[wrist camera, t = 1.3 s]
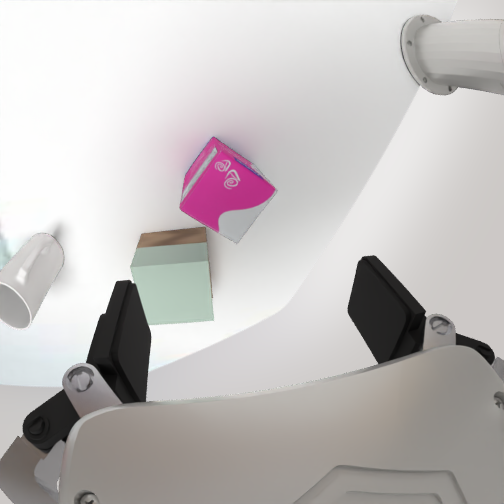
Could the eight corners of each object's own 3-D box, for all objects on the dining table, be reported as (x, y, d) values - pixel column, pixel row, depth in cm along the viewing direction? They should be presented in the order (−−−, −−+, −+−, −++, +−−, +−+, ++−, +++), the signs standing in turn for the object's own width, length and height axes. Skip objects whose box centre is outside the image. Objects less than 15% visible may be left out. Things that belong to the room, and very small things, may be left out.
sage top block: (206, 242, 32) (208, 260, 28) (211, 298, 36) (214, 320, 32) (136, 248, 31) (130, 267, 27) (149, 303, 35) (146, 325, 31)
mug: (55, 281, 35) (24, 339, 24) (22, 254, 31) (-17, 306, 21) (84, 233, 32) (47, 289, 22) (46, 203, 29) (-2, 248, 19)
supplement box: (254, 162, 32) (281, 192, 22) (224, 202, 34) (236, 248, 24) (213, 133, 30) (220, 149, 20) (183, 176, 31) (176, 213, 22)
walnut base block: (205, 226, 35) (206, 241, 32) (211, 279, 39) (212, 297, 36) (142, 232, 34) (136, 248, 31) (154, 285, 38) (150, 303, 35)
